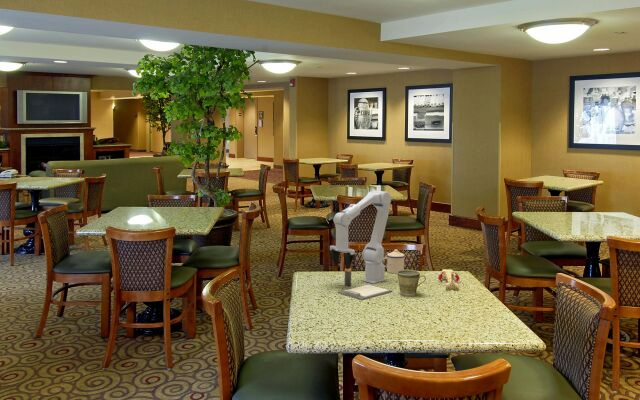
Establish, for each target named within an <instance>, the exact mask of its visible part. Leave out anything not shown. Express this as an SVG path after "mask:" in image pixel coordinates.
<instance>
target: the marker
mask: <svg viewBox="0 0 640 400" xmlns="http://www.w3.org/2000/svg"><path fill="white" fill-rule="evenodd" d="M344 286H345V287H351V286H352V268H351V267H350V269H346V267H345V268H344Z"/></svg>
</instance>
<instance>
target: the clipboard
mask: <svg viewBox="0 0 640 400" xmlns="http://www.w3.org/2000/svg"><path fill="white" fill-rule="evenodd" d="M389 293H390V294H391V293H393V290H391V289H387V288H384V287H380V286H376V285H374V284H368V283H367V284H363V285H360V286H356V287H350V288H347V289H343V290H339V291H337V294H340V295H342V296H347V297H351V298H353V299H356V300H360V301H363V300H368V299H371V298H375V297H377V296H378V297H379V296H382V295H386V294H389Z"/></svg>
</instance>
